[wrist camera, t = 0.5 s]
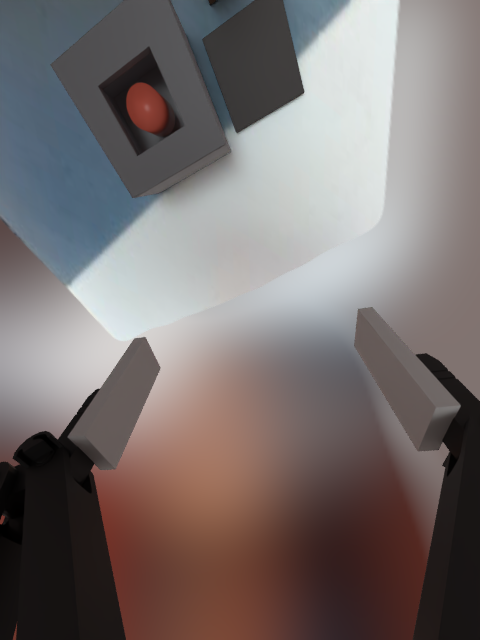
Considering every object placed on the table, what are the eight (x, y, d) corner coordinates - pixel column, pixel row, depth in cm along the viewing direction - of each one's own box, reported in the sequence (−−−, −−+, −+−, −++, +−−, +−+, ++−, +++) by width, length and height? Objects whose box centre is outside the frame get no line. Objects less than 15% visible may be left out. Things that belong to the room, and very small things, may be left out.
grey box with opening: (103, 94, 29) (50, 64, 21) (185, 32, 26) (157, -29, 18) (159, 193, 35) (132, 198, 27) (231, 151, 32) (225, 143, 24)
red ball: (137, 107, 26) (118, 95, 23) (163, 88, 26) (148, 73, 22) (155, 142, 28) (141, 138, 24) (180, 126, 27) (169, 118, 24)
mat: (203, 41, 27) (202, 39, 26) (277, -14, 24) (278, -18, 24) (236, 132, 31) (236, 132, 30) (303, 93, 28) (304, 91, 28)
